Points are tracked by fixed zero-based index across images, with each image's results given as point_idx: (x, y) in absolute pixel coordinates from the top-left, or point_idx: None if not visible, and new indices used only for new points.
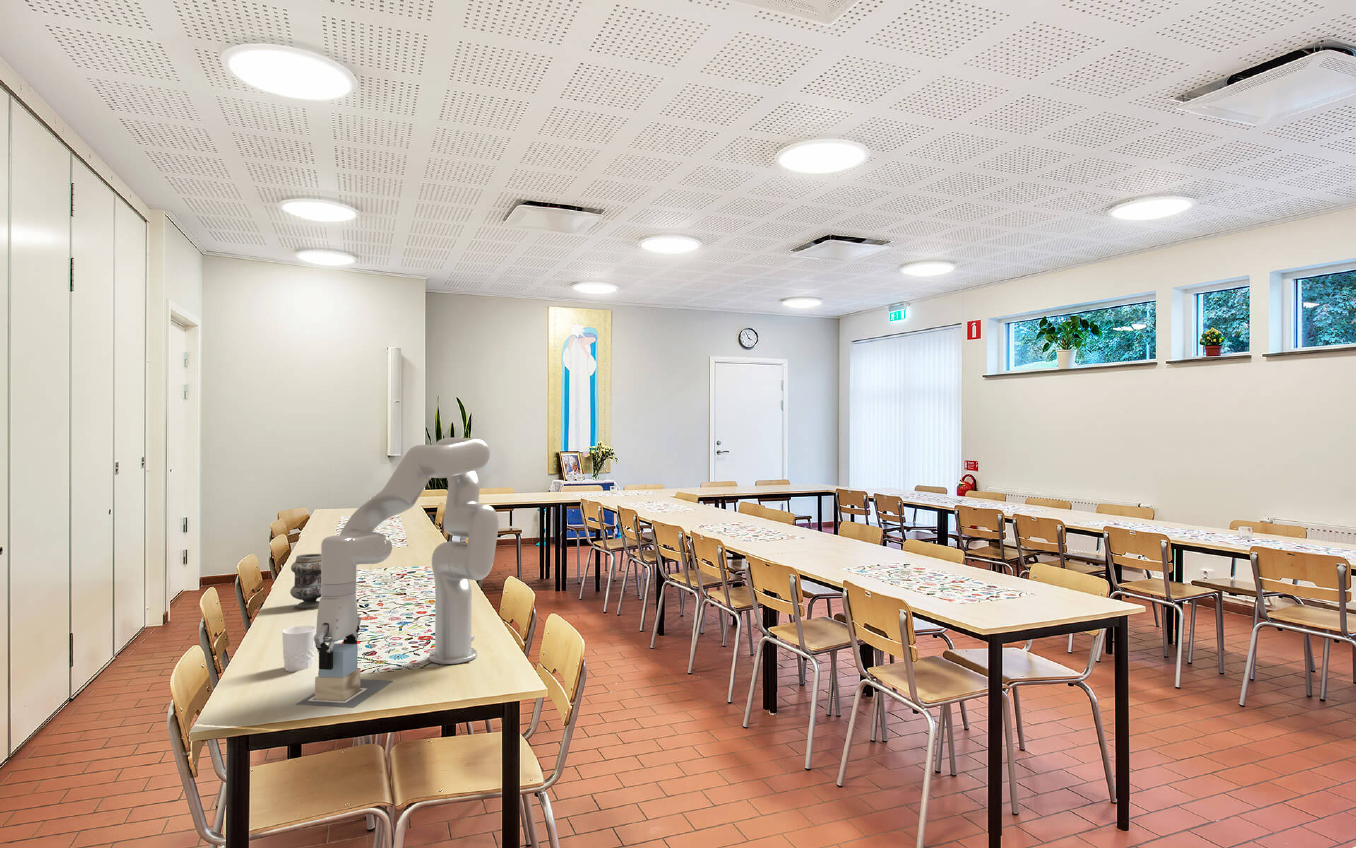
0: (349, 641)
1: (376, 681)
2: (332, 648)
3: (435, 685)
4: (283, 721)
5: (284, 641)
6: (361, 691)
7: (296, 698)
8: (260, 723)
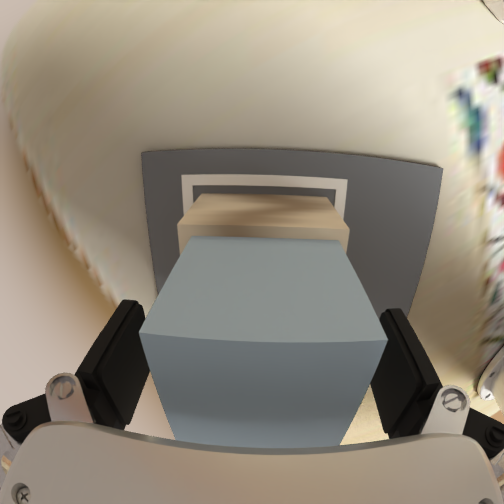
0: (399, 409)
1: (397, 307)
2: (226, 394)
3: (356, 416)
4: (48, 204)
5: None
6: None
7: (221, 98)
8: (26, 152)
